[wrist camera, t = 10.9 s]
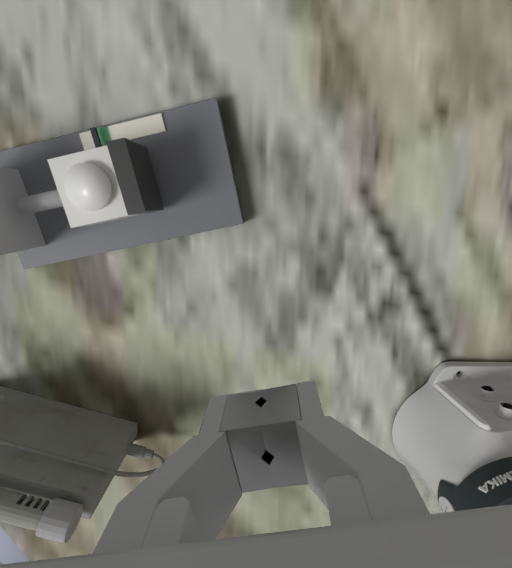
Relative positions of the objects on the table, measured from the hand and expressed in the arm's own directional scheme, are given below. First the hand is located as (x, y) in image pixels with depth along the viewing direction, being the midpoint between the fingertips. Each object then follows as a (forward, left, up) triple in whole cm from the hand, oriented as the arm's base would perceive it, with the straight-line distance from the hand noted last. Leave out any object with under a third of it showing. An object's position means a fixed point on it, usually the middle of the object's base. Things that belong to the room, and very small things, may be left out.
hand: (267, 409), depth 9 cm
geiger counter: (+28, +16, -27) cm, 42 cm away
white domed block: (+16, -11, -25) cm, 32 cm away
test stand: (+15, -10, -27) cm, 32 cm away
